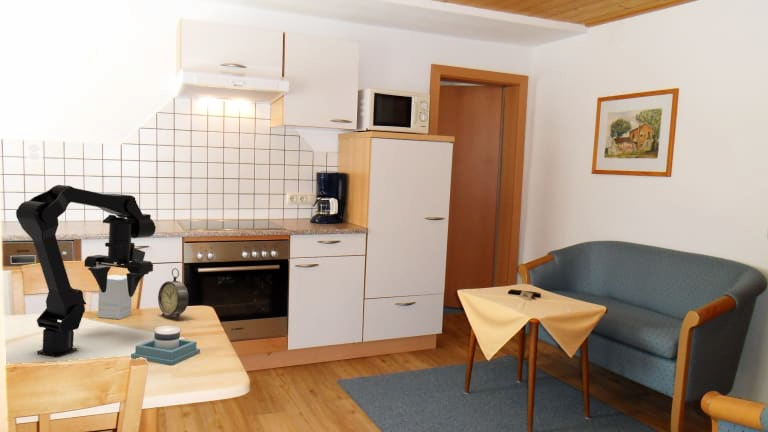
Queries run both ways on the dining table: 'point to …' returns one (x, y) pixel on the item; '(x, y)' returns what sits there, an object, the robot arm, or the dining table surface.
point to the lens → (167, 337)
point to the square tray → (166, 352)
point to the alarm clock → (173, 297)
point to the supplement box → (115, 298)
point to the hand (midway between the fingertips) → (117, 294)
